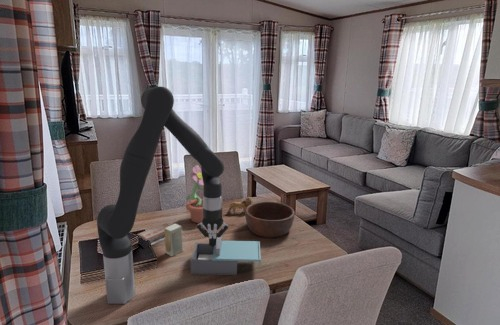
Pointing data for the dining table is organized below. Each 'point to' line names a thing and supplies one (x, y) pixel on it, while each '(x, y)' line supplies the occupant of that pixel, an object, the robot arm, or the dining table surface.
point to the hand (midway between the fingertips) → (212, 245)
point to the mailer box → (210, 262)
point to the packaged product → (154, 234)
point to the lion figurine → (240, 205)
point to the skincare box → (173, 239)
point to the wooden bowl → (269, 218)
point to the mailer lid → (236, 251)
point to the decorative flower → (196, 197)
